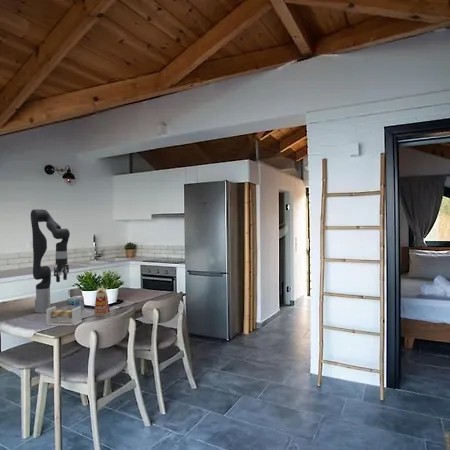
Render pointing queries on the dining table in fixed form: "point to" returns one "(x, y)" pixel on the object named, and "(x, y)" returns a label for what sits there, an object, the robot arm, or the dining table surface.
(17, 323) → the dining table surface
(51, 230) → the robot arm
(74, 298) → the light bulb box
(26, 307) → the dining table surface
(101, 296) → the milk carton
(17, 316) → the dining table surface
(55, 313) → the shelf board
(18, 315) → the dining table surface
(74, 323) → the peg frame
